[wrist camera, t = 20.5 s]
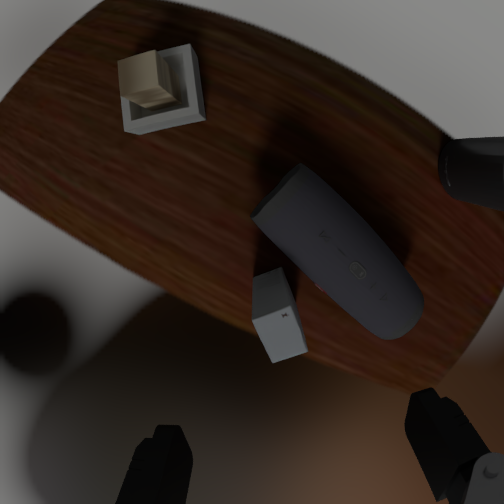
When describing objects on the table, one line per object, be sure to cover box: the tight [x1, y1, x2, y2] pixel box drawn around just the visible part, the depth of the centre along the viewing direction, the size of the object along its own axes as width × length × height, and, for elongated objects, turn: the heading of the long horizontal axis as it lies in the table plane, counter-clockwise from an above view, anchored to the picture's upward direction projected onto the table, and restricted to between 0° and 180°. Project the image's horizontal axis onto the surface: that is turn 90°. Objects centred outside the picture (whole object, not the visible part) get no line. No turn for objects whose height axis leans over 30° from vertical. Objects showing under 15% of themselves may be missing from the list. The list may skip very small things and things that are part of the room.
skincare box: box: [252, 267, 308, 363], centre depth 36 cm, size 6×4×12 cm
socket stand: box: [121, 44, 206, 135], centre depth 33 cm, size 9×9×5 cm
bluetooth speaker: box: [250, 163, 424, 339], centre depth 36 cm, size 23×9×10 cm, turn 48°
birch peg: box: [118, 50, 182, 111], centre depth 30 cm, size 4×4×10 cm
